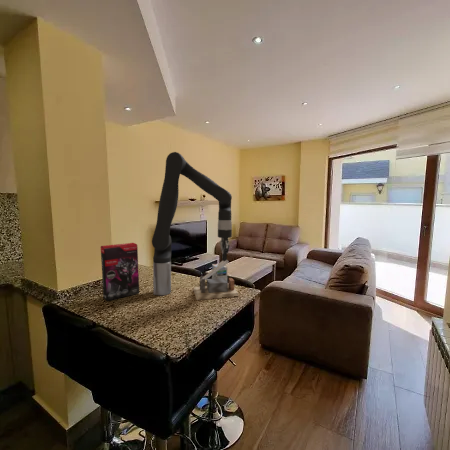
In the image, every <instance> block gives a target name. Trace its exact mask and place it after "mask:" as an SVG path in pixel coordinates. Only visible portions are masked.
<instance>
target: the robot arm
mask: <svg viewBox="0 0 450 450" xmlns="http://www.w3.org/2000/svg"><path fill="white" fill-rule="evenodd" d="M164 169H165V170H164V179H163V184H162V187H161V193H160V196H159V202H158V210H157V215H156V216H157V219H156V225H155V228H154V232H153V235H152V239H151V245H152V247H153V249H154V251H153V253H154V254H153V257H152V258H153V259H152V260H153V261H152V262H153V263H152V264H153V268H152V269H153V271H152V272H153V275H152V277H153V278H152V281H153V282H152V287H153V290H152V291H153V295H154V296H155V295H156V296H167V295H169V294H171V293H172V236H171V235H170V232H171V226H172V222H173V219H174V218H175V214H176V211H177V207H178V202H179V193H180V192H179V191H180V190H179V182H180V176H184V177H185V178H187V179H188V180H189V181H191V182H192V183H193V184H195V185H196V186H197V187H198V188H200V189H201V190H203V192H205V193H207V194H208V195H210V196H211V197H212V198H214V199H215V200H217V201H218V217H217V220H218V221H217V237H218V238H220V239H221V240H220V241H219V245H220V246H219V247H220V251H221V253H222V254H221V255H222V257H221V259H222V260H221V261H226V260H228V258H227V256H228V254H229V250H230V248H231V247H230V241H229V238H230V239H231V238H232V235H233V234H232V233H233V232H232V231H233V230H232V229H233V226H232V225H233V224H232V223H233V221H232V200H233V199H232V197H233V196H232V194H231V193H230V191H228V190H227V189H225V188H224V187H222V186H220V185H219V184H217V183H216V181H214V180H212V179H211V178H210V177H208V175H205V174H203V173H202V172H200V171H198V170H197V169H195V168H194V167H193V166H192V165H191V164H189V163H188V161H187V160H185V157H184V156H183V155H182V154H181V153H179V152H177V151H173V152H170V153H169V154H167V157H166V158H165V168H164Z"/></svg>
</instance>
